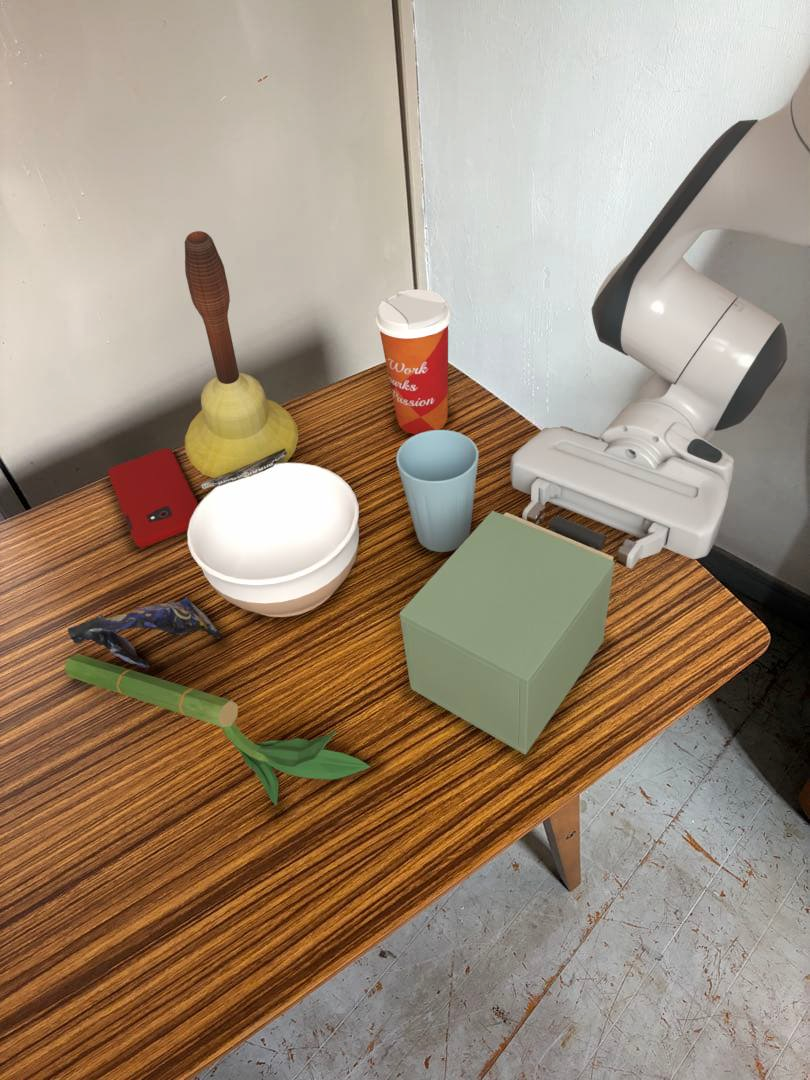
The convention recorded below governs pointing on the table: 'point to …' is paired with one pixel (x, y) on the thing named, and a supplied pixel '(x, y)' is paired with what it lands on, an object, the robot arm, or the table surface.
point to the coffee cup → (416, 357)
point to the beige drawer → (571, 534)
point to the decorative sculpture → (246, 470)
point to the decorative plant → (221, 724)
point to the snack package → (160, 616)
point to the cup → (439, 486)
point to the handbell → (228, 382)
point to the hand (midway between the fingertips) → (574, 540)
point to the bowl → (277, 538)
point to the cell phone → (153, 496)
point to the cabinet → (507, 628)
